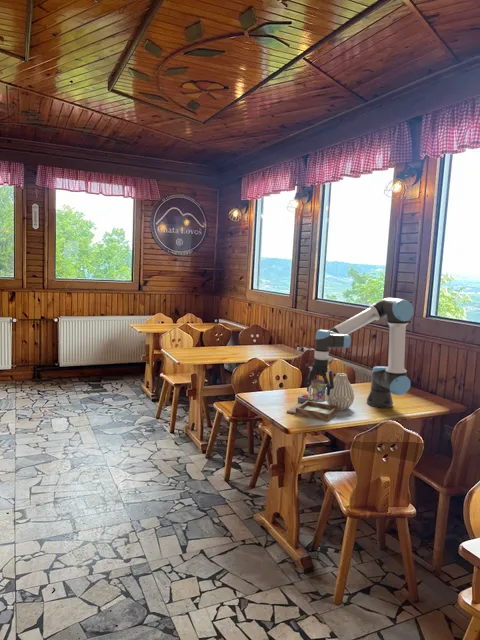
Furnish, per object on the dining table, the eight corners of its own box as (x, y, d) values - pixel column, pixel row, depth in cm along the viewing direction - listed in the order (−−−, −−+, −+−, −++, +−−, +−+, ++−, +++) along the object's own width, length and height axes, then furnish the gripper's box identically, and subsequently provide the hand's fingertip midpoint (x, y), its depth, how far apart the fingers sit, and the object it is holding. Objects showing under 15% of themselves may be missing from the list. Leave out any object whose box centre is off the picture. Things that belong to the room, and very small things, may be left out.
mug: (330, 402, 251) (332, 383, 250) (315, 403, 248) (317, 384, 246) (317, 396, 262) (319, 378, 261) (303, 397, 258) (305, 378, 257)
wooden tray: (337, 412, 259) (338, 406, 259) (327, 421, 243) (328, 414, 243) (298, 405, 270) (299, 398, 269) (286, 412, 254) (287, 406, 253)
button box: (317, 403, 276) (317, 396, 275) (312, 406, 268) (312, 400, 267) (302, 400, 280) (303, 393, 280) (297, 403, 272) (297, 397, 272)
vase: (323, 403, 276) (325, 370, 274) (350, 405, 276) (352, 371, 274) (327, 411, 261) (329, 376, 258) (355, 413, 260) (358, 378, 258)
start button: (312, 401, 275) (313, 394, 274) (310, 403, 271) (310, 396, 270) (305, 399, 277) (305, 393, 277) (302, 401, 273) (302, 394, 272)
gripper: (342, 360, 250) (339, 401, 253) (304, 354, 260) (301, 394, 263) (338, 362, 244) (334, 404, 246) (299, 356, 253) (296, 397, 256)
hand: (317, 399), depth 254 cm, fingers closed on mug, 9 cm apart
